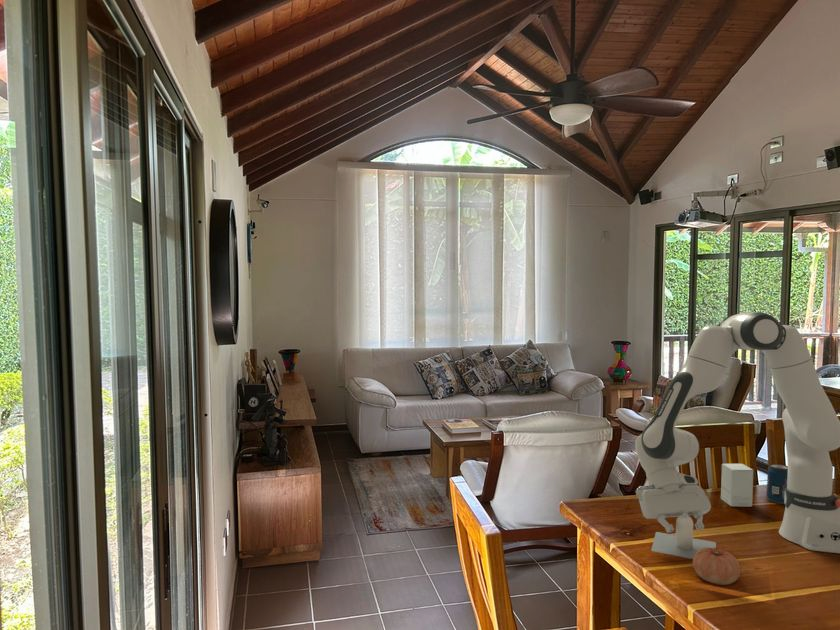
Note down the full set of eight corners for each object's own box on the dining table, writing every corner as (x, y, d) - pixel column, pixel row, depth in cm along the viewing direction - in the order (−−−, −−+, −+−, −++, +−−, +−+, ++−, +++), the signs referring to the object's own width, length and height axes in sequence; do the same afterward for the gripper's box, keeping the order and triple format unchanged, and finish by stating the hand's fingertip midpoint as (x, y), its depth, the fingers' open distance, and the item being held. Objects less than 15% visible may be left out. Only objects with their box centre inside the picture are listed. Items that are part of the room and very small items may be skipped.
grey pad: (715, 545, 172) (715, 542, 171) (715, 566, 159) (715, 563, 159) (655, 535, 179) (655, 531, 179) (651, 554, 166) (651, 550, 166)
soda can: (770, 495, 212) (771, 461, 211) (792, 500, 207) (794, 466, 206) (763, 500, 207) (764, 465, 206) (786, 505, 202) (787, 470, 201)
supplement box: (752, 507, 201) (754, 469, 200) (730, 506, 201) (731, 469, 200) (741, 498, 208) (742, 463, 207) (720, 498, 208) (721, 462, 208)
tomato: (686, 569, 158) (687, 539, 157) (729, 571, 157) (730, 541, 156) (701, 590, 147) (702, 559, 146) (747, 593, 146) (748, 561, 145)
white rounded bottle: (692, 545, 170) (694, 511, 169) (692, 551, 166) (693, 516, 165) (676, 541, 172) (677, 508, 171) (675, 548, 168) (676, 513, 167)
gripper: (638, 481, 172) (657, 528, 163) (701, 477, 177) (723, 522, 168) (629, 491, 177) (647, 538, 168) (691, 486, 181) (712, 531, 172)
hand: (686, 530), depth 168 cm, fingers open, 8 cm apart
